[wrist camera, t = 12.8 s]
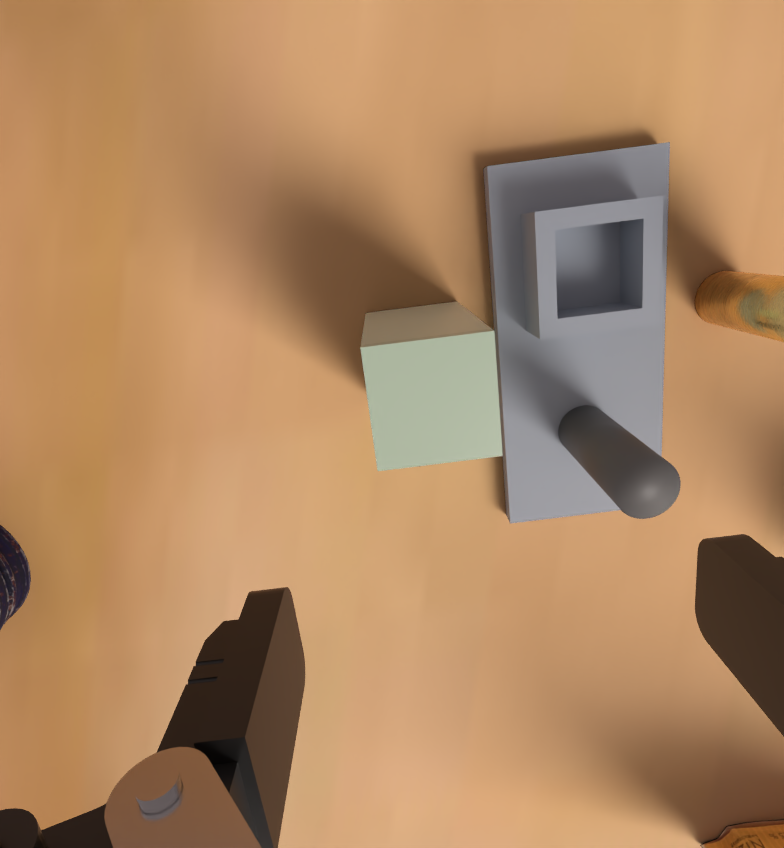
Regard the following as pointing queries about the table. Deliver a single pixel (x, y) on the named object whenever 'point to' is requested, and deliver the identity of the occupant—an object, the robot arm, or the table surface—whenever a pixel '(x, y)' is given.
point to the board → (581, 331)
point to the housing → (431, 386)
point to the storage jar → (12, 576)
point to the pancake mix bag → (751, 836)
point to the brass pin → (743, 302)
